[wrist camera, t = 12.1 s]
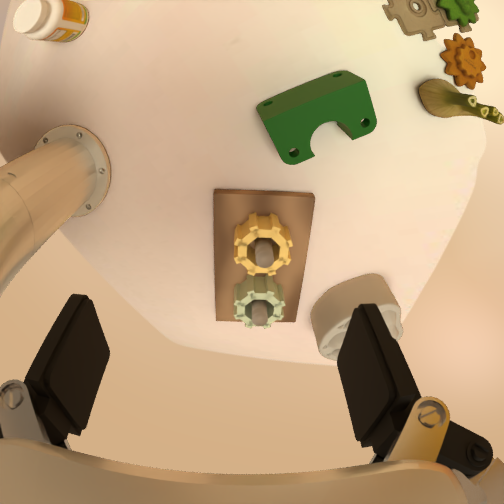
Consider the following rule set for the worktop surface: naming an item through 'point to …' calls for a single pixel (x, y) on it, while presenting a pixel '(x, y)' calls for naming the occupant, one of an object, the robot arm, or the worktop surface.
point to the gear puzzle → (438, 16)
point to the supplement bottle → (51, 20)
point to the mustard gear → (265, 229)
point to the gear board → (239, 215)
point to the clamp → (317, 113)
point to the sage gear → (258, 290)
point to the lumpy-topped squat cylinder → (341, 308)
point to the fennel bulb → (454, 102)
